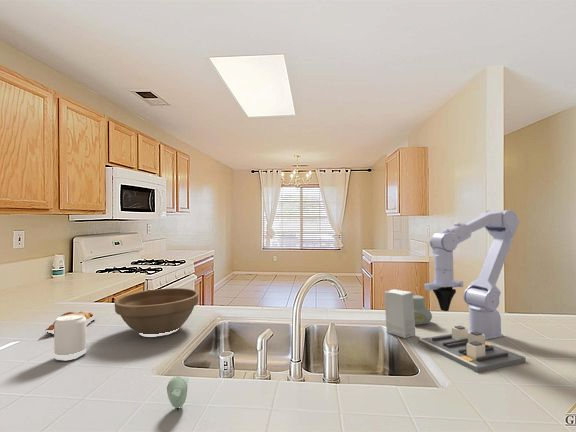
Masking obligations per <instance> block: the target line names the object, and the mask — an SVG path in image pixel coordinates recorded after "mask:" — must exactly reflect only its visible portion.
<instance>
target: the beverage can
mask: <svg viewBox="0 0 576 432" xmlns="http://www.w3.org/2000/svg"><path fill="white" fill-rule="evenodd" d="M60 316H61V315H60ZM60 316H58V317H57V318H55V319H56V320H55V321H56V322H55V321H54V322H55V324H54V334H53V336H54V337H53V338H54V347H53V349H54V352H53V353H55V354H57V355H69V354H74V353H77V352H80V351H82V350H84V349H85V348H86V347H88V345H87V343H88V342H87V339H88V338H87V337H88V334H87V332H88V331H87V329H88V328H87V326H88V325H86V318H85V315H84V314H69V315H64V316H61V317H60Z"/></svg>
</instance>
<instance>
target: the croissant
mask: <svg viewBox="0 0 576 432" xmlns="http://www.w3.org/2000/svg"><path fill="white" fill-rule="evenodd" d="M69 314H84V315H85V318H86V320H87V319H89V318H90V317H92V316H93V314H94V313H91V312H88V313H87V312H84V311H79V312H76V311H68V312H65V313H62V314H61V315H59V317H61V316H64V315H69ZM55 322H56V320H55V321H54V322H53V323H52V324H51V325H49V327H47V328H46V329H45V331H46V330H53V329H54V324H55Z"/></svg>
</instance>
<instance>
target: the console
mask: <svg viewBox="0 0 576 432" xmlns="http://www.w3.org/2000/svg"><path fill="white" fill-rule="evenodd" d="M417 343H418V344H419V345H421V346H423V347H426V348H427V349H429V350H431V351H433V352H435V353H437V354H439V355H441V356H444V357H445V358H447V359H449V360H452V361H453V360H454V361H453V362H455V361H456V362H455V363H457V362H458V364H459V363H460V364H459V365H461V364H462V365H461V366H463V365H464V367H465V366H466V367H465V368H467V367H468V368H467V369H469V368H470V369H469V370H471V369H472V370H471V371H473V370H474V371H473V372H475V373H480V371H481V372H484V370H485V371H489V369H490V370H493V368H495V369H498V367H499V368H503V366H504V367H508V365H509V366H513V365H517V363H518V364H521V363H526V360H527V359H526V358H527V357H526V356H524V355H522V354H519V353H516V352H514V351H511V350H509V349H506V348H504V347H501V346H498V345H496V344H493V343H491V342H489V341H487V340H485V356H484V357H479V358H477V360H475V359H473V358H471V357H469V356H467V343H468V338H467V339H461V340H455V339H453V338H452V333H447V334H442V335H435V336H429V337H424V338H423V337H422V338H418V339H417Z"/></svg>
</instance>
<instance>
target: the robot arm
mask: <svg viewBox="0 0 576 432" xmlns="http://www.w3.org/2000/svg"><path fill="white" fill-rule="evenodd" d="M519 223H520V220H519V217H518V215H517V213H516V211H515V210H512V209H507V210H485V211H483V212H481V213H480V214H479V215H478V216H476V217H474V218H472V219H471V220H470V221H468V222H466V223H463V222H455V223H454V224H453V225H454V226H453V225H452V227H449V228H445V229H444V230H443V231H442V232H436V233H434V234H433V235H432V236H431V238H430V241H429V245H430V248H432V253H433V264H434V266H433V269H434V273H433V274H434V278H433V279H434V280H433V281H432V282H428V283H424V285H423V287H424V291H428V292H429V291H432V293H434V295H435V296H436V299H437V301H438V305H439V308H440V311H443V312H449V310H450V307H451V302H452V300H453V298H454V296H455V295H456V294H457V293H456V292H457V290H456V289H454V288H463V287H464V281H463V280H459V279H458V280H454V279H455V278H454V250H456V249H457V248H458V247H457V246H458V245H459V244H461V243H462V242H464V241H466V240H468V239H470V238H471V237H472V233H474V232H477V231H478V230H481V229H483V228H485V230H486V231H487V233H488V234H489V236H491V237H492V238H493V241H492V243H491V245H490V248H489V251H488V253H487V255H486V257H485V260H484V262H483V265H482V267H481V270H480V272H479V275H478V278H477V279H475V280H473V281H471V282H470V283H469V285H468V287H466V288H465V290H464V292H463V296H462V297H463V300H464V302H465V304H466V306H467V308H468V313H469V315H468V317H469V318H468V319H469V321H468V322H469V323H468V325H469V329H468V333H471V332H475V331H477V332H480V333H482V334H484V335H485V340H489V339H490V340H491V339H495V338H501V337H504V334H502V318H501V314H500V312H499V311H498V310H497V309H498V307H499V305H500V298H501V291H500V289H499V288H498V287H497V282H498V280H499V277H500V274H501V271H502V269H503V267H504V264H505V261H506V259H507V257H508V254H509V252H510V248H511V245H512V244H513V241H514V236H515V234H516V231H517V229H518V226H519Z"/></svg>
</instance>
